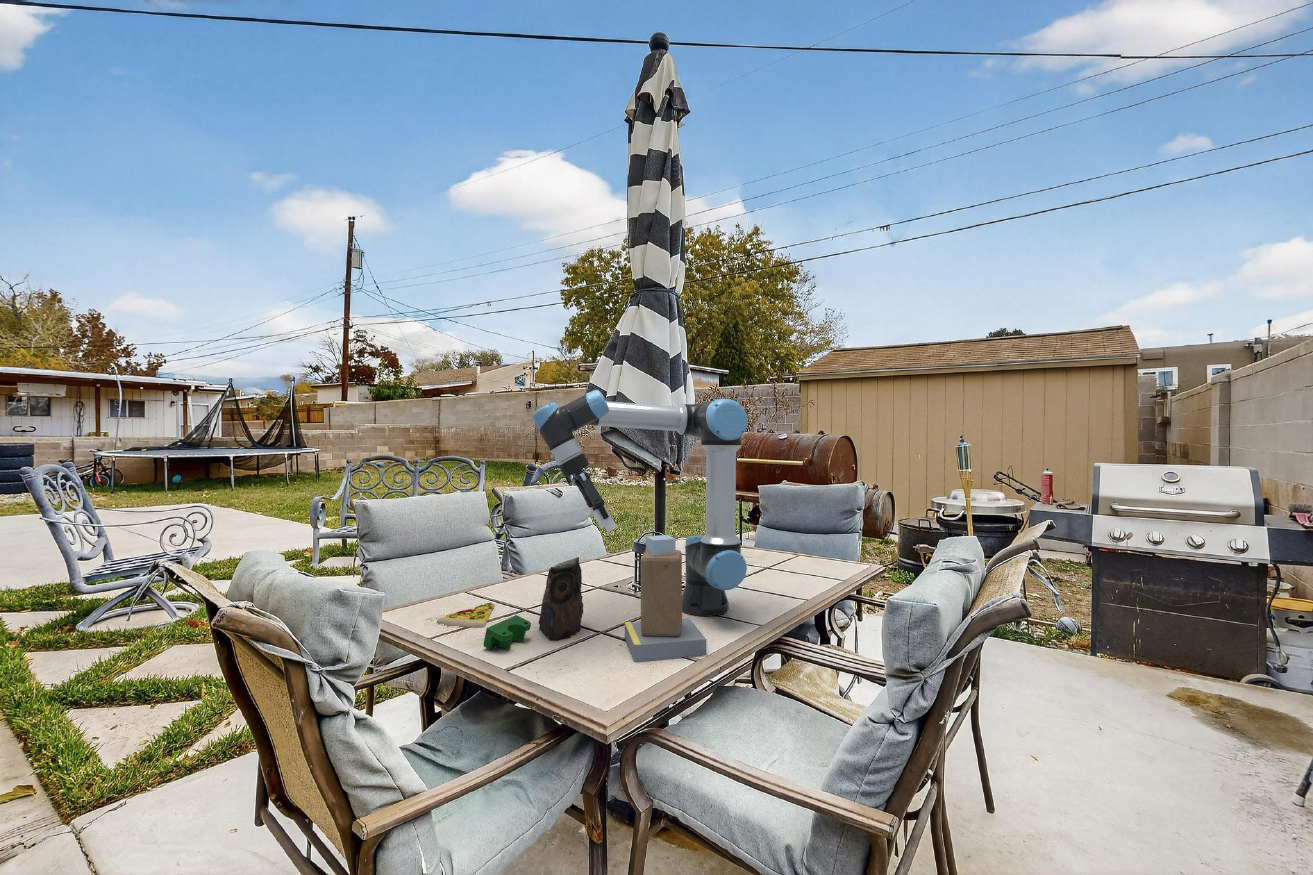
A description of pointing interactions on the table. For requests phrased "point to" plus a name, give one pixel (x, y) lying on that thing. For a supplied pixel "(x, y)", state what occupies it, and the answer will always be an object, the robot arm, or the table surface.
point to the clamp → (506, 632)
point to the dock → (664, 643)
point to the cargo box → (661, 545)
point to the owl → (562, 601)
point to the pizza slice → (469, 617)
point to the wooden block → (661, 594)
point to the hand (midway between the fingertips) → (608, 528)
